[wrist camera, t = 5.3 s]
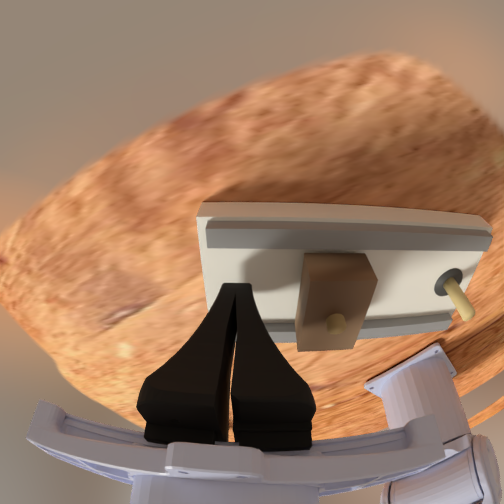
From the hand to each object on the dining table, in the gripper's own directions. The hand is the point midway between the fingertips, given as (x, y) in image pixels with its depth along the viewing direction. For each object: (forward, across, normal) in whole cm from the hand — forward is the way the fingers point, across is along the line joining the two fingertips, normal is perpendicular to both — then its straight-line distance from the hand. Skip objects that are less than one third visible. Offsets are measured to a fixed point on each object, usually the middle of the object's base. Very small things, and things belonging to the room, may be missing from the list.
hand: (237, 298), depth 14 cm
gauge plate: (+2, -7, 0) cm, 8 cm away
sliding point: (+1, -5, 0) cm, 5 cm away
